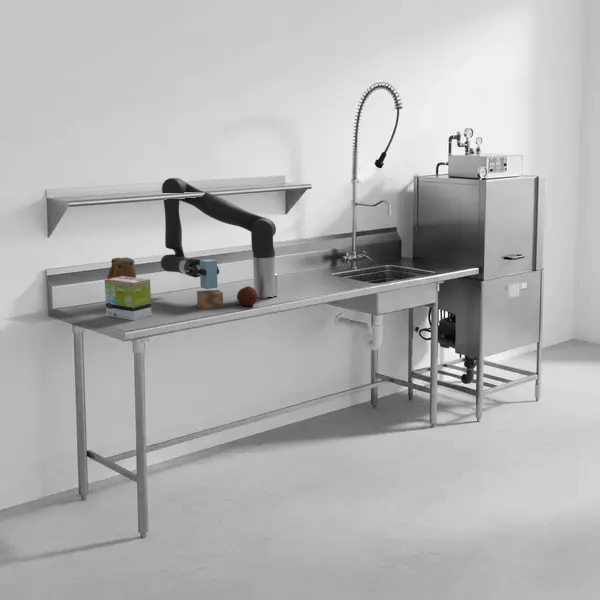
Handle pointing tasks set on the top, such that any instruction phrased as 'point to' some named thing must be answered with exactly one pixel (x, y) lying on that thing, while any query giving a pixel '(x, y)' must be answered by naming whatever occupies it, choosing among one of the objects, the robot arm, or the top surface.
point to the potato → (247, 296)
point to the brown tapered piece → (122, 268)
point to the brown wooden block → (209, 299)
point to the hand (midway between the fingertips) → (212, 272)
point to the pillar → (209, 274)
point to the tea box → (128, 298)
